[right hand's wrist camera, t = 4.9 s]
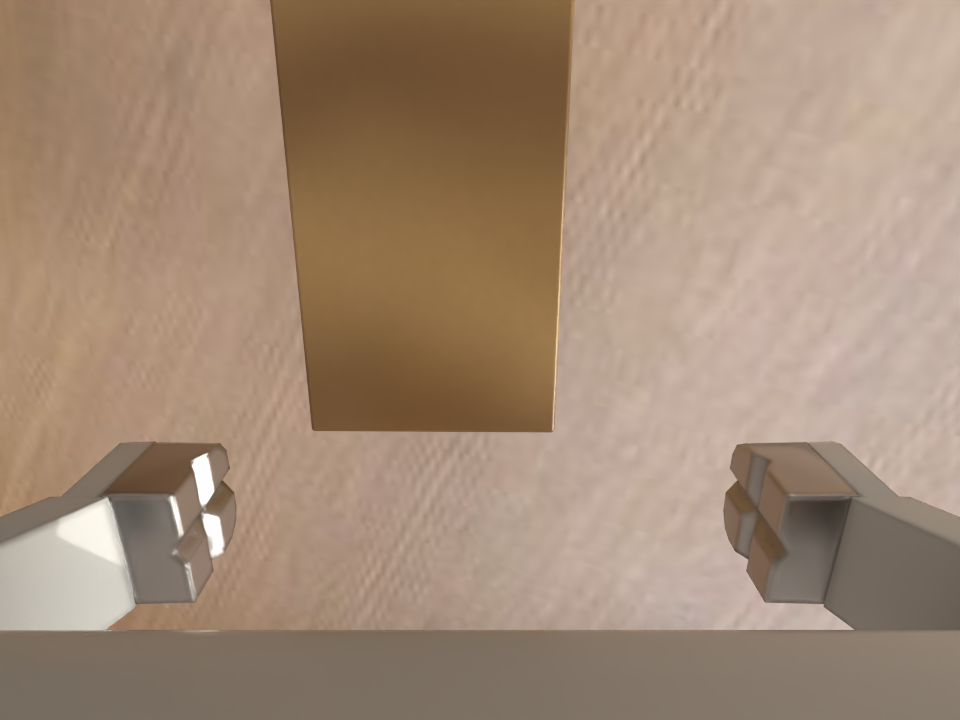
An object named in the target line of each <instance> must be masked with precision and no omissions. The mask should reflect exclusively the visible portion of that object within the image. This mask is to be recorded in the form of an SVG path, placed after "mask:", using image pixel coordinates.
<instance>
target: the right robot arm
mask: <svg viewBox="0 0 960 720" xmlns="http://www.w3.org/2000/svg"><path fill="white" fill-rule="evenodd" d="M229 469H230V466H229V461H228V456H227V451H226V449H225V448H224V447H223V446H222V445H221V444H220V443H170V442H159V443H157V442H127V443H120V444H119V445H118V446H116V447H115V448H114V449H113V450H112V451H111V452H110V453H109V454H108V455H107V456H105V457H104V458H103V459H102V460H101V461H100V462H99V463H98V464H97V465H95V466H94V467H93V468H92V469H91V470H90V471H89V472H88V473H87V474H86V475H84V476H83V477H82V478H81V479H80V480H79V481H78V482H77V483H76V484H75V485H73V486H72V487H71V488H70V489H69V490H68V491H67V492H66V493H65V494H64V495H62V496H61V497H49V498H46V499H44V500H42V501H39V502H37V503H34V504H32V505H29V506H27V507H24V508H22V509H19V510H17V511H14V512H12V513H9V514H7V515H4V516H2V517H0V720H960V517H958V516H955V515H953V514H951V513H948V512H946V511H943V510H941V509H938V508H936V507H933V506H931V505H928V504H926V503H923V502H921V501H918V500H916V499H913V498H911V497H899V496H898V495H897V494H895V493H894V492H893V491H892V490H891V489H890V488H889V487H888V486H887V485H886V484H884V483H883V482H882V481H881V480H880V479H879V478H878V477H877V476H876V475H875V474H873V473H872V472H871V471H870V470H869V469H868V468H867V467H866V466H865V465H864V464H862V463H861V462H860V461H859V460H858V459H857V458H856V457H855V456H854V455H853V454H851V453H850V452H849V451H848V450H847V449H846V448H845V447H844V446H843V445H842V444H839V443H836V442H809V443H806V442H793V443H752V444H740V445H737V446H736V448H735V450H734V452H733V455H732V460H731V465H730V469H731V471H732V472H733V474H734V475H735V477H736V479H737V481H736V482H735V484H734V485H733V486H732V487H731V488H730V489H729V490H728V491H727V492H726V495H725V502H724V510H723V512H724V523H725V530H726V533H727V536H728V539H729V541H730V543H731V545H732V547H733V548H734V550H735V551H736V552H737V553H739V554H740V555H742V556H744V557H745V558H747V559H748V565H747V570H746V571H747V573H748V574H749V576H750V578H751V580H752V581H753V583H754V585H755V586H756V588H757V590H758V591H759V593H760V595H761V596H762V598H763V600H764V601H765V602H769V603H806V604H824V607H825V608H826V609H828V610H829V611H830V612H832V613H833V614H834V615H836V616H837V617H838V618H840V619H841V620H842V621H844V622H845V623H846V624H848V625H849V626H850V627H852V628H853V629H854V630H106V629H107V628H108V627H110V626H111V625H112V624H114V623H115V622H116V621H118V620H119V619H120V618H122V617H123V616H124V615H126V614H127V613H129V612H130V611H131V610H133V609H134V608H135V607H136V604H154V603H190V602H196V600H197V598H198V596H199V595H200V593H201V591H202V590H203V588H204V586H205V585H206V583H207V581H208V579H209V578H210V576H211V574H212V573H213V565H212V559H213V558H215V557H216V556H218V555H220V554H221V553H223V552H224V551H225V550H226V548H227V547H228V545H229V543H230V541H231V539H232V536H233V532H234V528H235V524H236V501H235V495H234V492H233V491H232V490H231V489H230V488H229V487H228V486H227V485H226V484H225V483H224V481H223V479H224V477H225V475H226V474H227V472H228V471H229Z"/></svg>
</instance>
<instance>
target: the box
mask: <svg viewBox="0 0 960 720" xmlns="http://www.w3.org/2000/svg"><path fill="white" fill-rule="evenodd" d="M270 4H271V14H272V24H273V35H274V45H275V55H276V65H277V76H278V86H279V96H280V106H281V116H282V127H283V137H284V147H285V157H286V168H287V178H288V188H289V198H290V209H291V219H292V229H293V239H294V250H295V260H296V270H297V280H298V291H299V301H300V311H301V321H302V331H303V342H304V352H305V362H306V372H307V383H308V393H309V403H310V413H311V424H312V429H313V430H314V431H423V432H553V430H554V422H555V401H556V380H557V359H558V337H559V316H560V295H561V274H562V253H563V232H564V211H565V190H566V169H567V147H568V126H569V105H570V84H571V63H572V42H573V21H574V0H270Z"/></svg>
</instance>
